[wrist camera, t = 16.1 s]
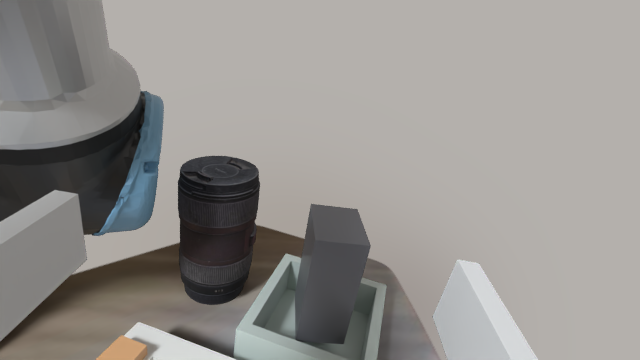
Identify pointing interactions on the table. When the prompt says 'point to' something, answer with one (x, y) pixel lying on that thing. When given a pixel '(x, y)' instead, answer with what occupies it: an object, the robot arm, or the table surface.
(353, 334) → the bin
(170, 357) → the strip
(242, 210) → the camera lens
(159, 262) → the table surface
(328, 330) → the tall grey pillar
